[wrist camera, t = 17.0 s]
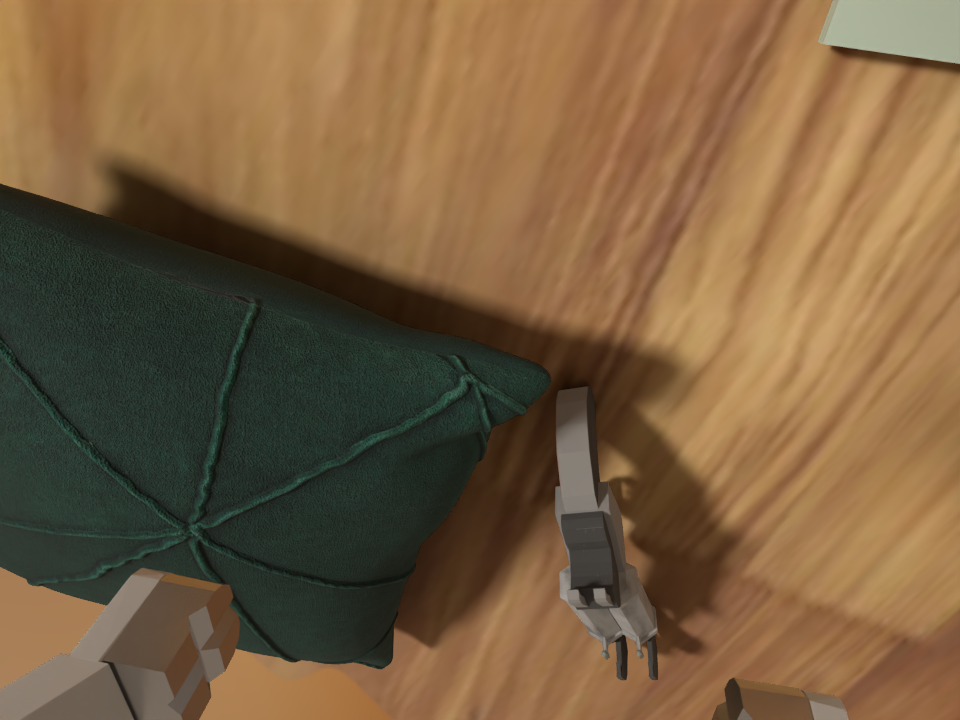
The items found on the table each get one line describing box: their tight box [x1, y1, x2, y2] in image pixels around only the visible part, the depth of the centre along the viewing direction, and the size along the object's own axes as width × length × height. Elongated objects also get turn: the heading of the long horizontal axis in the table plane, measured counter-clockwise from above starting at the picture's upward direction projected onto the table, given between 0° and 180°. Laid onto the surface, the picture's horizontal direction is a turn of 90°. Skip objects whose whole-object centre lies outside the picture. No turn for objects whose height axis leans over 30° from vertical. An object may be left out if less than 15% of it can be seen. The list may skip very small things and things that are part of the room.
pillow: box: [0, 184, 551, 669], centre depth 49 cm, size 44×18×44 cm
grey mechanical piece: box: [555, 386, 658, 680], centre depth 53 cm, size 6×28×16 cm, turn 17°
